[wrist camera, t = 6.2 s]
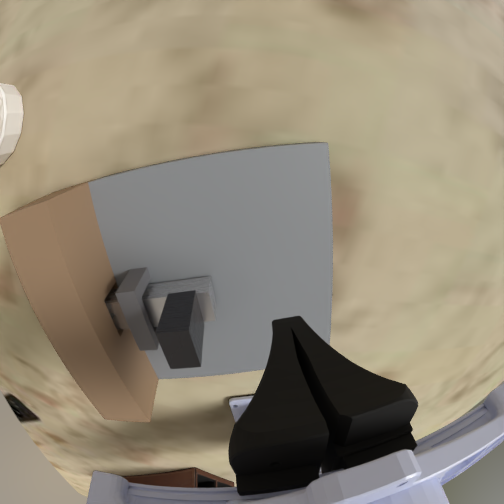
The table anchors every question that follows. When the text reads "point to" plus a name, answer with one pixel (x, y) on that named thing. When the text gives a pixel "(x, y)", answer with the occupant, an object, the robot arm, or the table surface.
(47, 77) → the table surface
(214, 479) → the letter holder
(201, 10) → the table surface
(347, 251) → the table surface
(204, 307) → the bolt
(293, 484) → the robot arm
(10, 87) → the white cup
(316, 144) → the door and jamb
